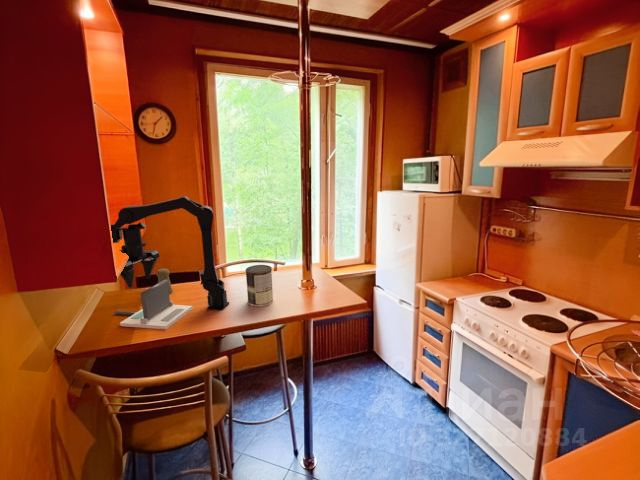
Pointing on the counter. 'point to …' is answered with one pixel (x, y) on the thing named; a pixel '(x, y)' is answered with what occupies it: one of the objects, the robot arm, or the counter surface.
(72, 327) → the counter surface
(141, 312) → the switch plate
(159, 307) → the lever
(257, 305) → the coffee can
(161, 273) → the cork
